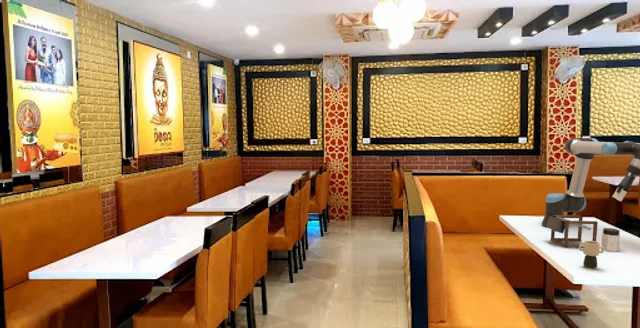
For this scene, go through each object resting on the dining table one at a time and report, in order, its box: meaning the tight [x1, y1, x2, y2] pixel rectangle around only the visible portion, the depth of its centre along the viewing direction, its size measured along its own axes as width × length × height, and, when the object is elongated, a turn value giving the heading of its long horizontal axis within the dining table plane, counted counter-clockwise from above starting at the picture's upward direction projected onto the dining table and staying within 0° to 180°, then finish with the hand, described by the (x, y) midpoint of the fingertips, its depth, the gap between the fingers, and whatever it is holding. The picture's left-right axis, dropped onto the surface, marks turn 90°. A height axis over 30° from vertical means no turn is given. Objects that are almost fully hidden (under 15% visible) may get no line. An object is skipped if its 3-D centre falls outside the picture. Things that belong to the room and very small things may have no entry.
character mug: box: [578, 240, 605, 269], centre depth 239 cm, size 11×7×13 cm, turn 67°
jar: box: [600, 227, 621, 253], centre depth 273 cm, size 9×8×12 cm
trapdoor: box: [545, 216, 592, 235], centre depth 284 cm, size 14×19×8 cm
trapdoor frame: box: [550, 214, 599, 249], centre depth 284 cm, size 18×18×16 cm
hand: (616, 199), depth 277 cm, fingers open, 13 cm apart
